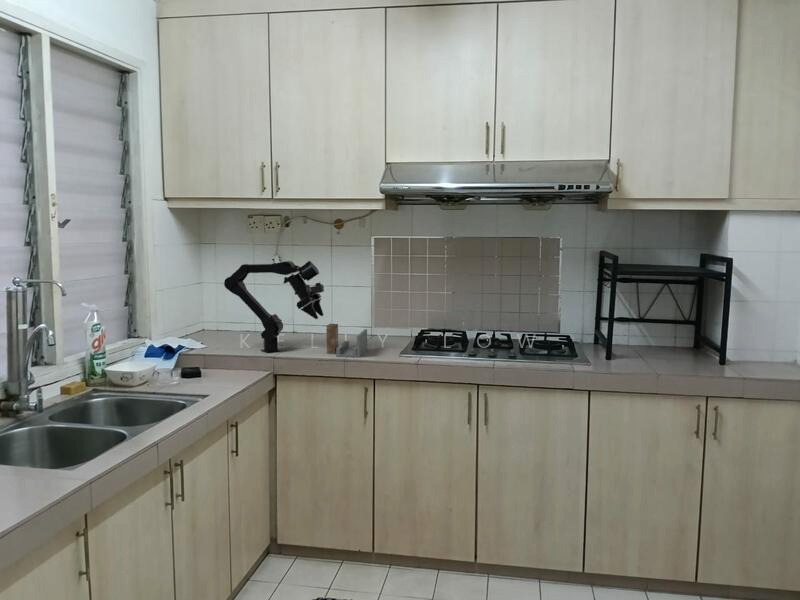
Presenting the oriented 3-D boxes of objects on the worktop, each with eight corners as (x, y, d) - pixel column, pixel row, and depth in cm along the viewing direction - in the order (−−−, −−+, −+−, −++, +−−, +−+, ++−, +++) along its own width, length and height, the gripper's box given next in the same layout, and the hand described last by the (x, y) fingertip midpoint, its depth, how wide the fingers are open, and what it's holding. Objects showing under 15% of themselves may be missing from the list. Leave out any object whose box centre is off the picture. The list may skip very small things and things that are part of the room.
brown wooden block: (326, 353, 273) (325, 325, 272) (329, 351, 279) (329, 323, 278) (335, 353, 273) (335, 326, 271) (338, 351, 279) (338, 323, 277)
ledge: (336, 356, 266) (336, 335, 265) (345, 348, 284) (345, 328, 283) (359, 357, 265) (359, 336, 264) (367, 349, 283) (367, 329, 282)
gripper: (309, 278, 264) (330, 309, 264) (320, 274, 282) (340, 304, 283) (287, 292, 266) (308, 324, 266) (300, 288, 284) (319, 317, 285)
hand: (320, 317), depth 275 cm, fingers open, 9 cm apart
